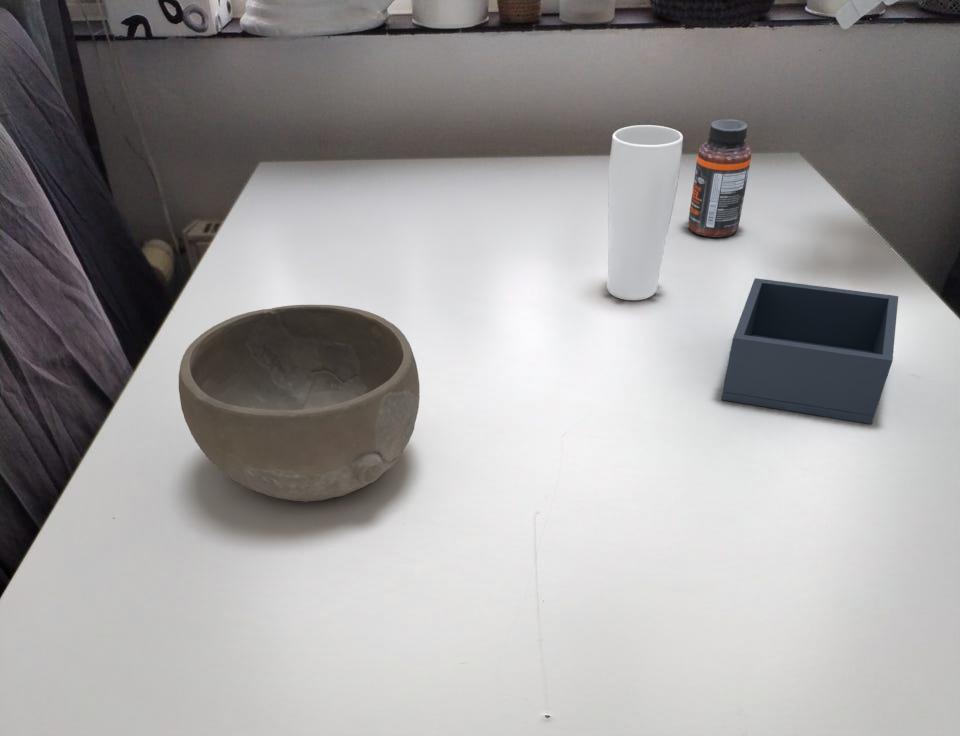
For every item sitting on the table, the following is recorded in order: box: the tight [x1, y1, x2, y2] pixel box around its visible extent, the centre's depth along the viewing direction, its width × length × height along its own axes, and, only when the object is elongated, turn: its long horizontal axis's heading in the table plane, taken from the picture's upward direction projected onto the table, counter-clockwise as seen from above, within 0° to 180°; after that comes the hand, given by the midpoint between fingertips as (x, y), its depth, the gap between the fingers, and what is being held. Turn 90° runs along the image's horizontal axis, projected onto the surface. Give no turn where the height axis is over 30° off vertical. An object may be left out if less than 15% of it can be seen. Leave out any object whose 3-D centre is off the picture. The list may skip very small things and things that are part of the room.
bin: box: [720, 277, 899, 425], centre depth 79 cm, size 13×13×6 cm
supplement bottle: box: [687, 118, 752, 238], centre depth 102 cm, size 6×6×11 cm
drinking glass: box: [606, 124, 684, 301], centre depth 89 cm, size 7×7×15 cm
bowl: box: [178, 304, 421, 503], centre depth 69 cm, size 17×18×10 cm
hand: (851, 12), depth 87 cm, fingers open, 8 cm apart
